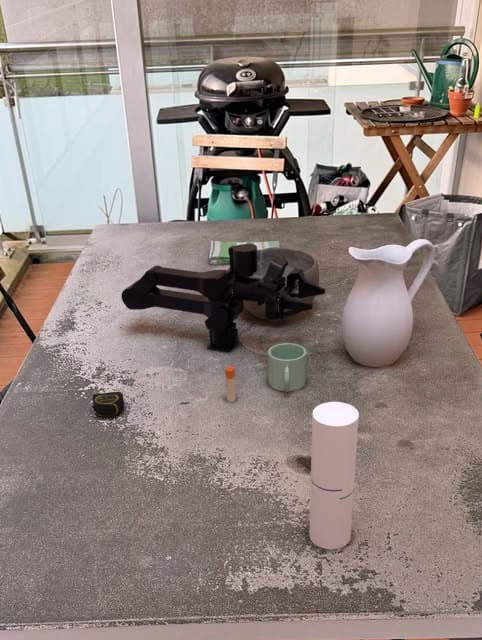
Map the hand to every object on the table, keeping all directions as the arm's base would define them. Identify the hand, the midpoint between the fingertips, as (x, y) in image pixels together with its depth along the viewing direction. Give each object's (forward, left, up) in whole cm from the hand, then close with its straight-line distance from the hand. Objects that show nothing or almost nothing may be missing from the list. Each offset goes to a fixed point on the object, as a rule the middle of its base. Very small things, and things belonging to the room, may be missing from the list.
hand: (318, 298), depth 171 cm
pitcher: (+15, +10, -17) cm, 24 cm away
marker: (-12, -24, -17) cm, 32 cm away
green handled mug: (-3, -13, -16) cm, 21 cm away
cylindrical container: (+23, -60, -17) cm, 66 cm away
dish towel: (-46, +63, -17) cm, 80 cm away
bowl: (-20, +24, -17) cm, 36 cm away
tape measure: (-36, -38, -17) cm, 55 cm away
